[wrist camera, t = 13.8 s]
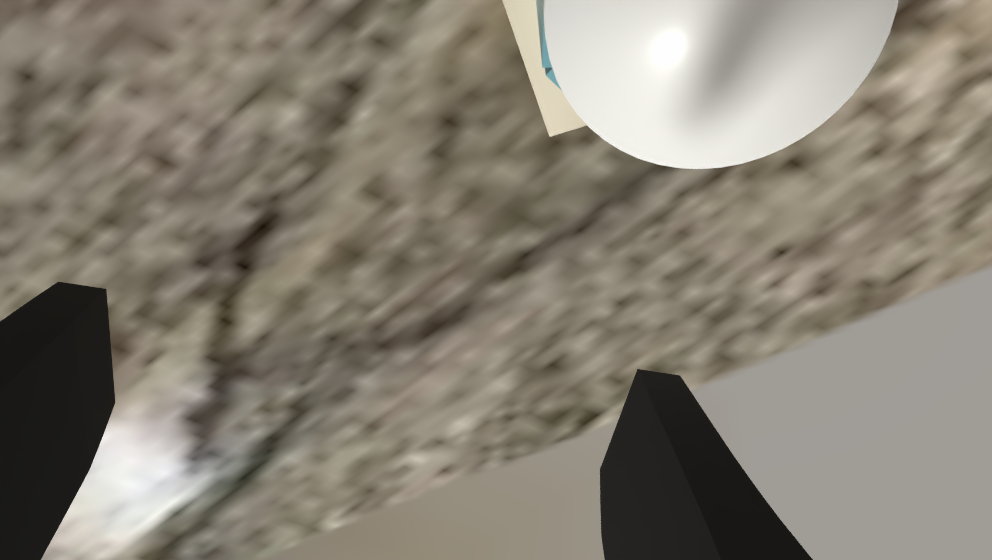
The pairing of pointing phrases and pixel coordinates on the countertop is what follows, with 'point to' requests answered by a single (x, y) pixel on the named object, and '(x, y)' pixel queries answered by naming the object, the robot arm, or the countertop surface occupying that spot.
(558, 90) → the stud
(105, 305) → the robot arm
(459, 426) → the countertop surface
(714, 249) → the countertop surface
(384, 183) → the countertop surface
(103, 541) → the countertop surface
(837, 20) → the cap
